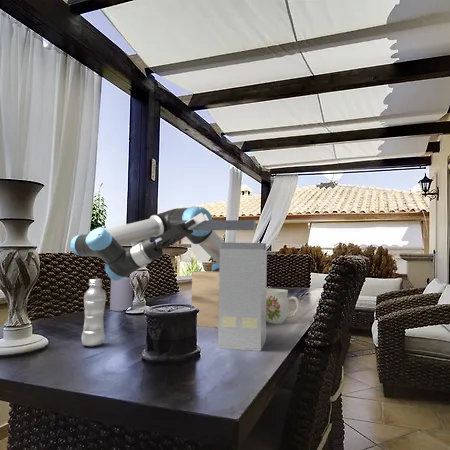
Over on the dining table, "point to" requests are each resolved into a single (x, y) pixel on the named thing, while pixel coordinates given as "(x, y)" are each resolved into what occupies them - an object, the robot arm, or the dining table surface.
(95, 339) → the plastic bottle
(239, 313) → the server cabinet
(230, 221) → the bar
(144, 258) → the robot arm
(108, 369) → the dining table surface
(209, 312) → the oak side stand
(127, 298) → the container
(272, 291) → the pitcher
